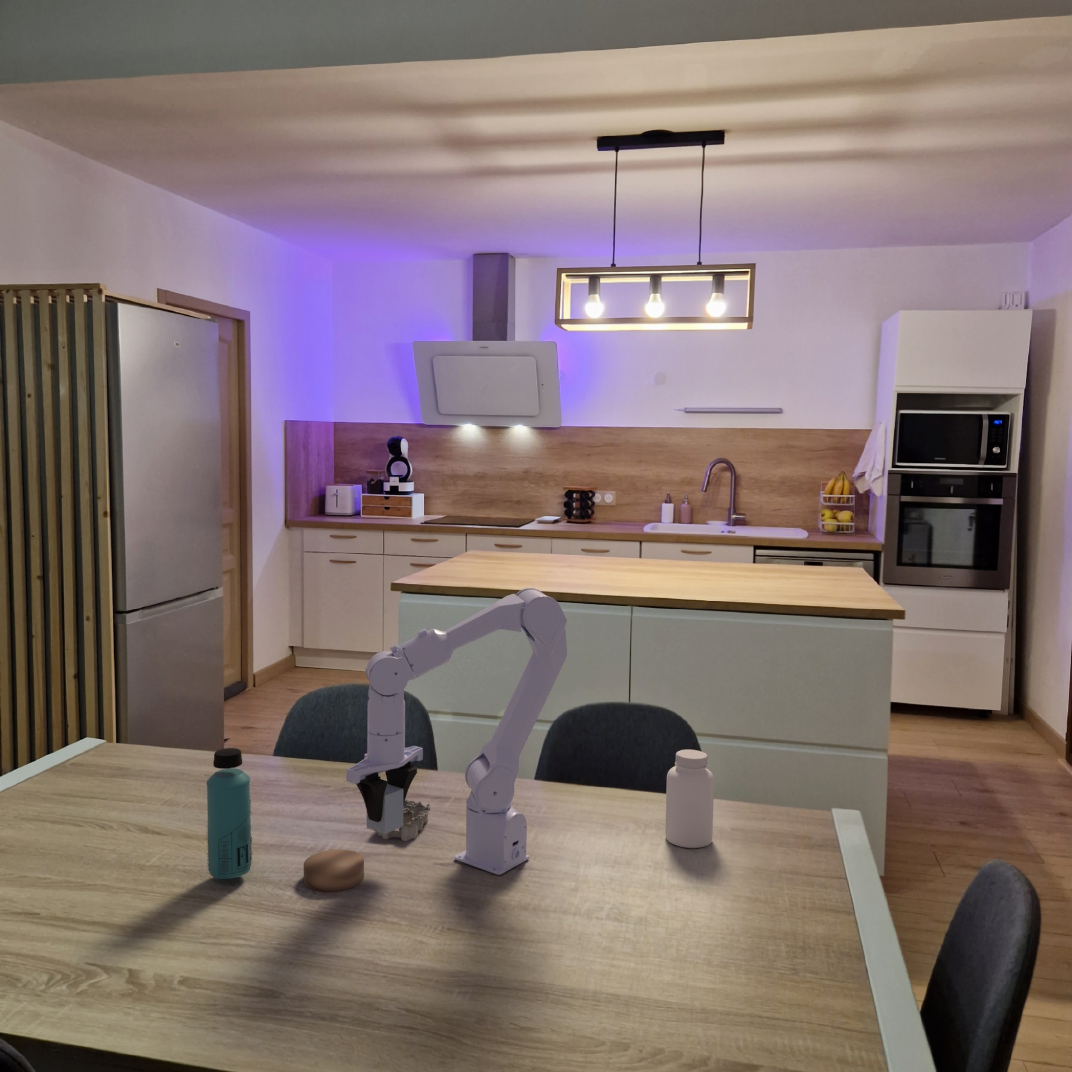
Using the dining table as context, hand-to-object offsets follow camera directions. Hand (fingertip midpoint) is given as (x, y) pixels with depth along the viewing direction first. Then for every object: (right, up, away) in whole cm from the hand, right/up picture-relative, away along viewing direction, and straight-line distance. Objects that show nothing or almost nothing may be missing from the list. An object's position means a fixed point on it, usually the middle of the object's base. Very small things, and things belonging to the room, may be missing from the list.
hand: (385, 815), depth 145 cm
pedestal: (-7, -9, -3) cm, 12 cm away
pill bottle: (+49, -8, +14) cm, 52 cm away
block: (0, -2, 0) cm, 2 cm away
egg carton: (0, -8, +16) cm, 18 cm away
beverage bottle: (-23, -9, -4) cm, 25 cm away
